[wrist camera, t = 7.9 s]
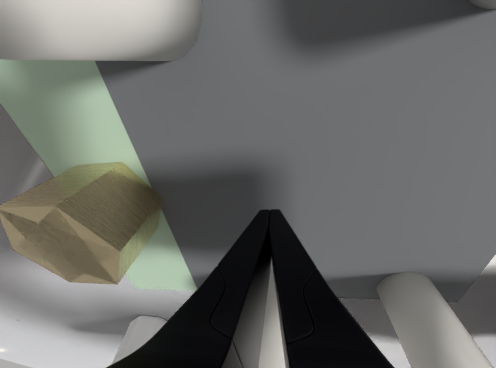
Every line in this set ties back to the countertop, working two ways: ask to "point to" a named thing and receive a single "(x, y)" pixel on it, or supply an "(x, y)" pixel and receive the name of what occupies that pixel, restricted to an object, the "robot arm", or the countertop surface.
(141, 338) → the pepper shaker
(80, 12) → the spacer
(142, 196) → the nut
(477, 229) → the mat
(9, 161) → the countertop surface
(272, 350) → the cylinder
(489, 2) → the cylinder
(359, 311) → the countertop surface
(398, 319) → the cylinder
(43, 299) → the countertop surface
